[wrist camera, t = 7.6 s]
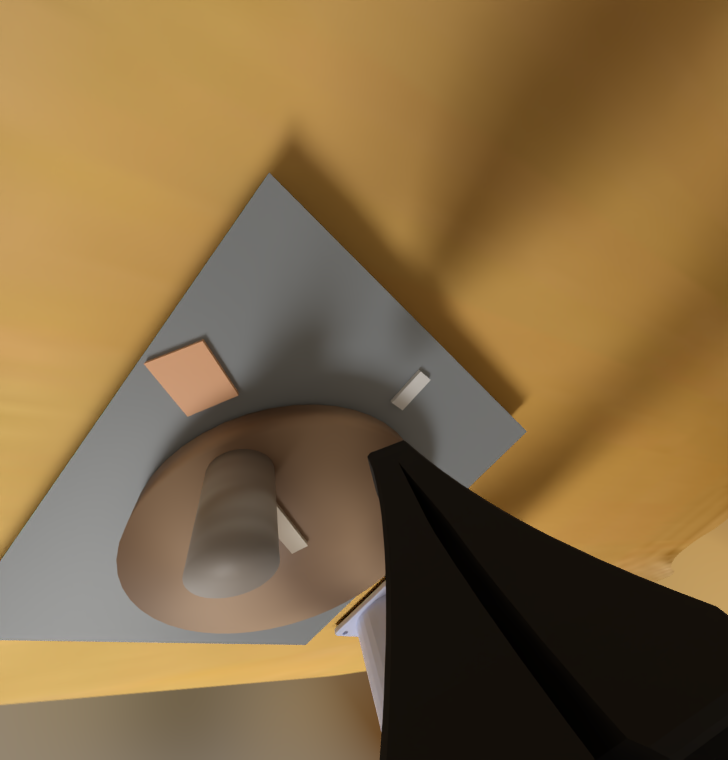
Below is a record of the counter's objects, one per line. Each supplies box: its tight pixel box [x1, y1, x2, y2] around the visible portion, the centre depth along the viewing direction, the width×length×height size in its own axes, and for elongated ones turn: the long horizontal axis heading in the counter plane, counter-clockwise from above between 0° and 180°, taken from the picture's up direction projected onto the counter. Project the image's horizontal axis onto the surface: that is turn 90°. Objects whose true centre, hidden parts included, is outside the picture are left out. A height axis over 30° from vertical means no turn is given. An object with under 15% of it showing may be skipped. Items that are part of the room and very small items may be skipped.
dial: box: [116, 404, 403, 634], centre depth 13 cm, size 14×14×5 cm
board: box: [0, 173, 527, 645], centre depth 16 cm, size 19×23×2 cm
